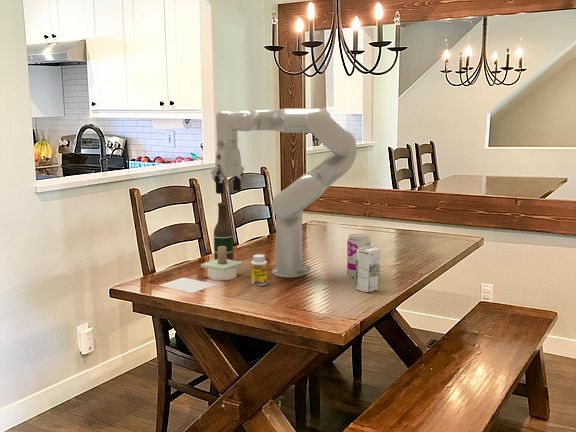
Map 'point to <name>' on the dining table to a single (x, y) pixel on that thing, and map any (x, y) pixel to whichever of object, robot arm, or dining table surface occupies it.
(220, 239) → the beer bottle
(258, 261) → the supplement bottle
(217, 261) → the lid
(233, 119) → the robot arm
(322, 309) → the dining table surface
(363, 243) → the supplement can
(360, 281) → the syrup box
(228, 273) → the bowl
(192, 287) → the mat
